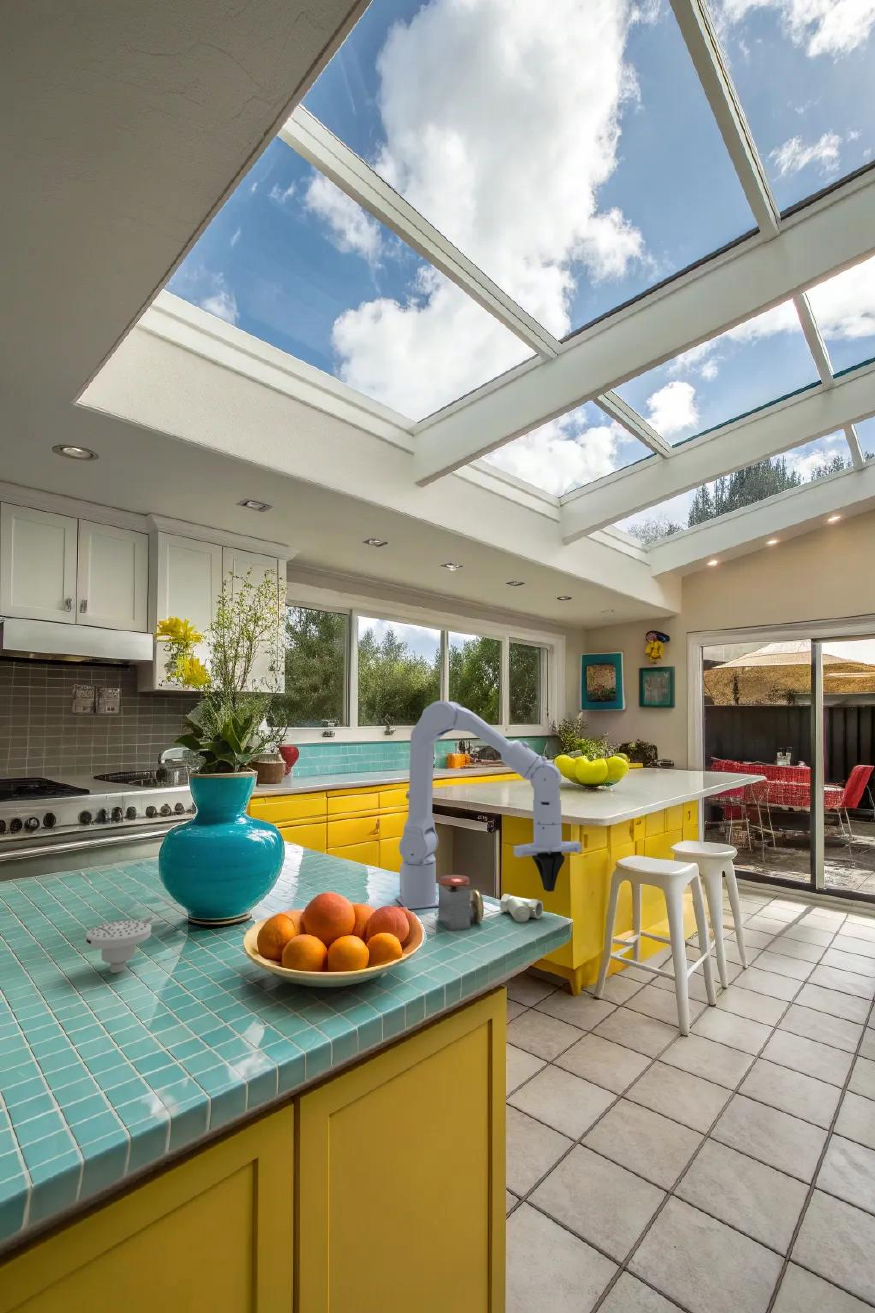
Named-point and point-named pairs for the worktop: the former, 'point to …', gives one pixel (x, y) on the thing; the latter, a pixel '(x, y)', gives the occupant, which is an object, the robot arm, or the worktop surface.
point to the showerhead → (118, 940)
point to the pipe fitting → (521, 907)
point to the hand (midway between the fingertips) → (548, 890)
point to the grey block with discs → (458, 903)
